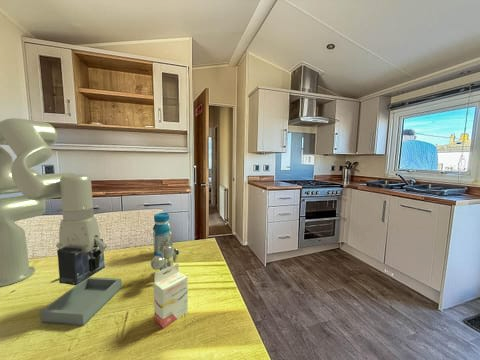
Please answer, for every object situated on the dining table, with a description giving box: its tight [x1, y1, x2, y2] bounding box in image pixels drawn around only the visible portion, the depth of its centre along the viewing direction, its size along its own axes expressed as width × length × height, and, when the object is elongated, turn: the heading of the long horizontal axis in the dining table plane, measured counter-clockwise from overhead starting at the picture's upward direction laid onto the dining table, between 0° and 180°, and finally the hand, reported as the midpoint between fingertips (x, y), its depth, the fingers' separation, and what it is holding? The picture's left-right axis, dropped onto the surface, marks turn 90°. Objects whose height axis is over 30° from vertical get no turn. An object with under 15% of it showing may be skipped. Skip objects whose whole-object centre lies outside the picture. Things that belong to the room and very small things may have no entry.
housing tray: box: [39, 276, 123, 327], centre depth 67 cm, size 13×17×4 cm
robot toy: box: [150, 238, 180, 275], centre depth 81 cm, size 15×6×15 cm, turn 165°
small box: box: [56, 238, 105, 286], centre depth 66 cm, size 11×6×10 cm, turn 169°
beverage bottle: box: [152, 212, 172, 257], centre depth 100 cm, size 8×8×20 cm
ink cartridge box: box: [153, 262, 189, 329], centre depth 62 cm, size 9×5×15 cm, turn 141°
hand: (83, 268), depth 66 cm, fingers closed on small box, 6 cm apart
